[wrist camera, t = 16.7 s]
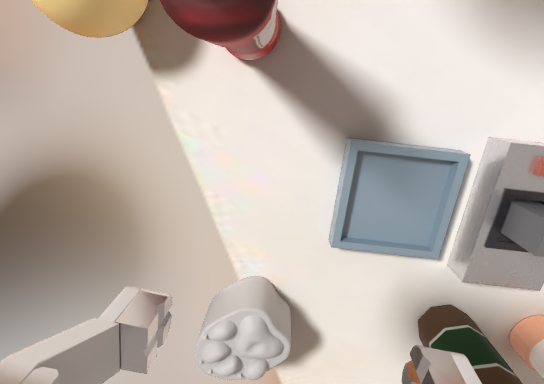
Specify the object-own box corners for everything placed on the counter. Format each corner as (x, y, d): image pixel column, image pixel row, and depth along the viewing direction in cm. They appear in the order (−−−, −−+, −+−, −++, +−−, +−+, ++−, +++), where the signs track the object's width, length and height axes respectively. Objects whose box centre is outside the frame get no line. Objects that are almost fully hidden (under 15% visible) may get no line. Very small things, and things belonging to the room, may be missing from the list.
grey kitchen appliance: (488, 136, 39) (515, 143, 34) (570, 145, 38) (608, 154, 34) (447, 264, 44) (465, 285, 40) (518, 273, 44) (545, 294, 40)
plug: (499, 195, 40) (569, 232, 30) (531, 199, 40) (611, 236, 30) (489, 224, 41) (553, 268, 31) (519, 228, 41) (593, 273, 31)
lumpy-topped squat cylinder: (298, 317, 48) (301, 364, 40) (231, 353, 51) (220, 404, 43) (259, 267, 46) (253, 307, 38) (190, 308, 49) (171, 353, 40)
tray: (346, 137, 39) (351, 141, 37) (459, 150, 39) (470, 154, 37) (328, 238, 44) (331, 247, 41) (429, 249, 44) (437, 259, 41)
